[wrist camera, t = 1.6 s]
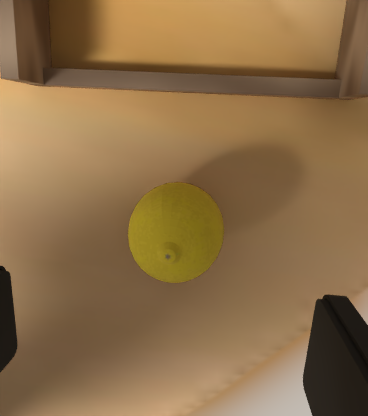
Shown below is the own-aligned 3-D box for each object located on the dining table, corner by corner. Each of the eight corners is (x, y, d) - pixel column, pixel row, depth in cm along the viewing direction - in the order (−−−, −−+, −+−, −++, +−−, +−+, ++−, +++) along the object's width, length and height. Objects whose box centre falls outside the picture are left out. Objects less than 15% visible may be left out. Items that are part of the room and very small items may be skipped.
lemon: (138, 177, 23) (101, 205, 15) (218, 169, 22) (221, 194, 15) (149, 252, 24) (120, 312, 17) (225, 245, 24) (231, 305, 16)
